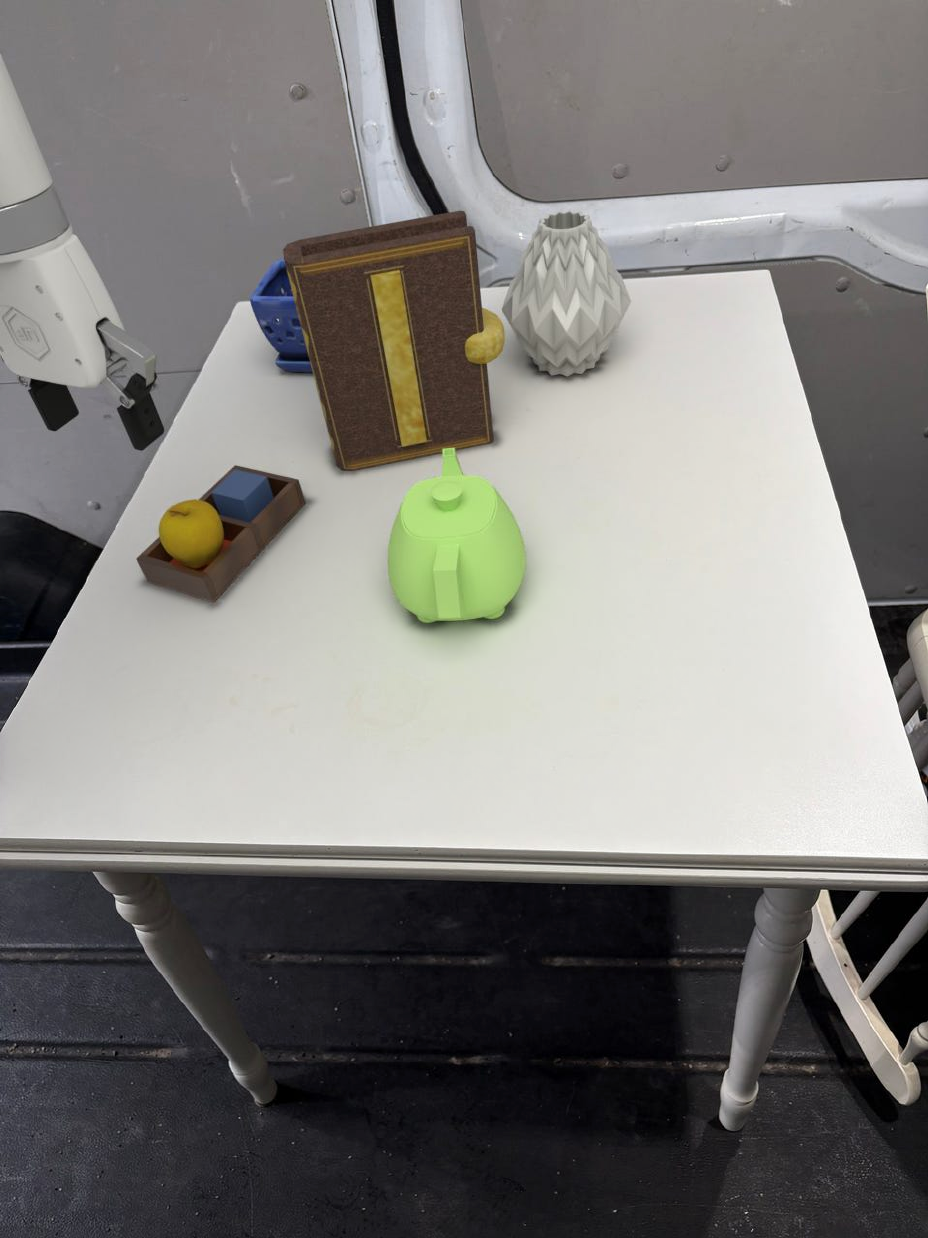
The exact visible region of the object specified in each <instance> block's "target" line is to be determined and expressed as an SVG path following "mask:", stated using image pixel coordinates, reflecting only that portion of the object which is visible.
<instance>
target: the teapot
mask: <svg viewBox="0 0 928 1238" xmlns="http://www.w3.org/2000/svg"><path fill="white" fill-rule="evenodd" d="M441 467H442V468H441V476H437V477H435V476H434V477H430V478H426V479H422V480H420V481H418V482H416V483H415V484H413V485H412V486H411V487H410V488H409V490H408V491H407V492H406V494H405V496H404V497H403V499H402V501H401V505H400V506H399V508H398V511H397V514H396V517H395V519H394V521H393V525H392V529H391V531H390V536H389V540H388V546H387V547H388V549H387V572H388V579H389V582H390V586H391V589H392V592H393V595H394V596H395V597H396V599H397V601H398V602H399V604H401V605H402V607H403V608H405V609H406V610H407V611H409V613H412V614H414V615H415V616H416V618H417V620H419V621H420V622H422V623H428V624H429V623H434V622H437V621H443V622H445V621H446V622H449V621H451V622H452V621H453V622H454V621H467V620H473V619H480V618H485V619H489V620H494V619H497V618H499V617H501V616H502V615H503V614H504V613H505V611H506V610H505V609H506V606H507V605H508V604H509V603H510V602H511V601H512V599H513V598H514V597H515V596H516V594H517V593H518V591H519V590H520V589H519V588H520V587H521V584H522V582H523V579H524V577H525V572H526V568H527V567H526V566H527V556H526V546H525V543H524V539H523V536H522V531H521V529H520V527H519V524H518V521H517V520H516V518H515V516H514V514H513V512H512V510H511V509H510V507H509V506H508V504H507V503H506V501H505V500H504V498H503V497H502V496H501V494H500V493H499V492H498V491H497V489H496V488H495V487H494V486H493V485H492V484H491V483H490V482H489V481H488V480H487V479H486V478H484V477H481V476H477V475H469V474H467V475H466V474H464V472H463V469H462V467H461V464H460V461H459V458H458V455H457V452H456V450H455V448H446V449H443V453H442V466H441Z"/></svg>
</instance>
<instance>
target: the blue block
mask: <svg viewBox="0 0 928 1238" xmlns="http://www.w3.org/2000/svg"><path fill="white" fill-rule="evenodd" d="M211 494H212V496H213V499H214V501H215V504H216V506H217V509H218V511H219V514H220V515H222V516H226V517H230V518H234V519H238V520H242V521H245V522H249V523H251V521H252V520H253V519H254V518H255V517H256V516H257V515H258V514H259V513H260V512H261V511H262V510H263V509H264V508H265V507H266V506H267V505H268V504H269V503H270V502H271V501H272V500H273V499H274V497H273V494H272V491H271V488H270V485H269V482H268V479H267V477H266V476H261V475H257V474H253V473H248V472H244V471H240V470H234V471H233V472H232V473H231V474H230V475H229V476H228V477H227V478H226V479H225V480H224V481H222V482H221V483H220V484H219V485H218V486H217V487H216V488H215V489H214V490H213V491H212V492H211Z"/></svg>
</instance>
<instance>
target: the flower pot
mask: <svg viewBox="0 0 928 1238" xmlns="http://www.w3.org/2000/svg"><path fill="white" fill-rule="evenodd" d="M282 290H283V291H282ZM249 303H250V306H251V309H252V312H253V314H254V316H255V319H256V321H257V324H258V326H259V328H260V330H261V332H262V333H263V335H264V337H265V339H266V340H267V341H268V343H269V345H271V347H272V348H274V350H275V352H277V353H278V355H277V356H276V359H274V360H275V361H274V363H275V365H276V367H278V368H279V369H281V370H283V371H285V372H297V373H298V372H300V373H302V372H303V373H307V372H308V373H313V371H312V367H311V363H310V359H309V355H308V351H307V348H306V344H305V340H304V336H303V332H302V328H301V324H300V320H299V316H298V312H297V308H296V304H295V300H294V296H293V293H292V289H291V285H290V281H289V277H288V273H287V269H286V265H285V261H284V258H278V259H276V260H275V261H274V262H273V263H272V264H271V265H270V267H269V268H268V269H267V271H266V272H265V274H264V275H263V277H262V278H261V280H260V282H259V283H258V285H257V286H256V288H255V290H254V291H253V292H252V294H251V296H250V298H249Z"/></svg>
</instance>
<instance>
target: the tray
mask: <svg viewBox="0 0 928 1238" xmlns="http://www.w3.org/2000/svg"><path fill="white" fill-rule="evenodd" d="M234 470H240V471H244V472H248V473H253V474H257V475H261V476H266V477H267V479H268V482H269V485H270V488H271V491H272V494H273V497H274V499H273V500H272V501H271V502H270V503H269V504H268V505H267V506H266V507H265V508H264V509H263V510H262V511H261V512H260V513H259V514H258V515H257V516H256V517H255V518H254V519H253V520H252V521H251V523H249V522H245V521H242V520H238V519H234V518H230V517H226V516H222V515H220V514H219V511H218V509H217V506H216V504H215V501H214V499H213V496H212V494H211V492H212V491H213V490H214V489H215V488H216V487H217V486H218V485H219V484H220V483H221V482H222V481H224V480H225V479H226V478H227V477H228V476H229V475H230V474H231V473H232V472H233V471H234ZM198 500H201V501H204V502H207V503H209V504H210V505H211V506H213V507H214V509H215V510H216V511H217V513H218V515H219V517H220V519H221V522H222V526H223V530H224V540H223V544H222V547H221V550H220V552H219V554H218V556H217V557H216V558H215V559H214V560H213V561H212V563H211V564H208V565H206V566H203V567H201V568H198V569H197V568H191V567H188V566H184V565H183V564H181V563H180V562H179V561H177V560H176V559H175V558H173V557H172V556H171V555H170V554H169V553H168V552H167V551H166V550H165V548H164V547H163V545H162V543H161V540H160V536H158V537H157V538H156V539H155V540H154V541H153V542H152V543H151V544H150V545H149V546H147V548H145V550H144V551H142V552H141V554H139V556H137V557H136V558H135V560H136V562H137V564H138V565H139V567H140V569H141V571H142V573H143V575H144V577H145V579H146V582H147V583H149V584H153V585H156V586H159V587H162V588H166V589H169V590H172V591H175V592H178V593H181V594H185V595H188V596H192V597H195V598H197V599H201V600H203V601H208V602H211V603H215V602H216V601H217V600H218V599H219V598H220V597H221V595H223V593H224V592H225V591H226V590H227V589H228V588H229V587H230V586H231V585H232V584H233V583H234V582H235V580H236V579H237V578H238V577H239V576H240V575H241V574H242V573H243V572H244V571H245V570H246V569H247V567H248V566H249V565H250V564H251V563H252V562H253V561H254V560H255V559H256V558H257V557H258V555H259V554H260V553H261V552H262V551H263V550H264V549H265V548H266V547H267V546H268V545H269V543H270V542H272V540H274V538H275V537H276V536H277V535H278V534H279V533H280V532H281V531H282V530H283V528H284V527H285V526H286V525H287V524H288V523H289V522H290V521H291V520H292V519H293V518H294V517H295V515H296V514H297V513H298V512H299V511H300V510H301V509H302V508H303V507H304V506H305V505H306V502H307V501H306V499H305V496H304V493H303V489H302V486H301V483H300V479H298V478H295V477H289V476H284V475H280V474H276V473H272V472H267V471H264V470H263V471H262V470H259V469H254V468H250V467H245V466H241V465H236V464H235V465H233V466H232V467H231V468H230V469H229V470H228V471H227V472H226V473H225V474H224V475H223V476H221V478H220V479H218V481H216V482H215V484H214V485H212V486H211V487H210V488H209V489H208V490H207V491H206V492H205V493H204V494H203V495H202V496H201V497H199V498H198Z"/></svg>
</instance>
